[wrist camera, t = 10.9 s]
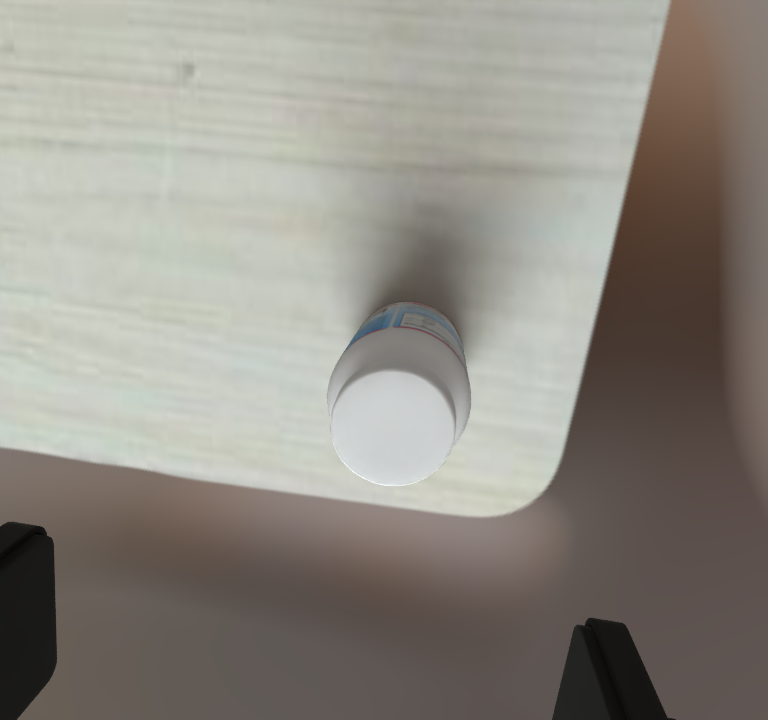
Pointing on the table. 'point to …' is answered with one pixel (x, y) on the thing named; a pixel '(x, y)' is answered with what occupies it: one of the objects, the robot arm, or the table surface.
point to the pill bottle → (399, 395)
